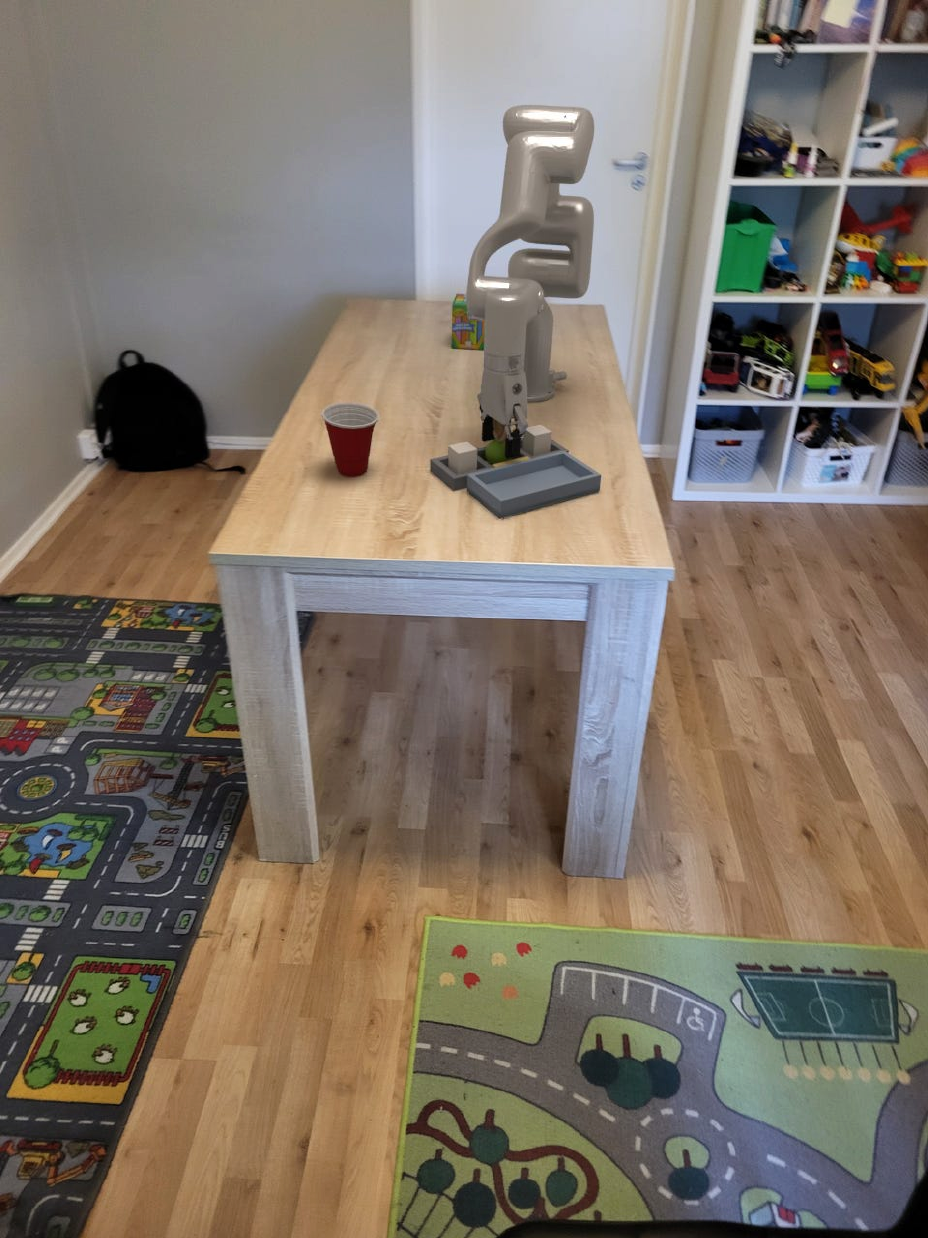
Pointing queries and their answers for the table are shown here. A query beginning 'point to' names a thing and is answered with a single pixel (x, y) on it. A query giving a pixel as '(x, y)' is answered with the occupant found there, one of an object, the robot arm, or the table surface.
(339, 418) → the plastic cup
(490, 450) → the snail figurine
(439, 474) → the rack
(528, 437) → the block
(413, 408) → the table surface
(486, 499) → the tray
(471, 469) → the block
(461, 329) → the chalk box
